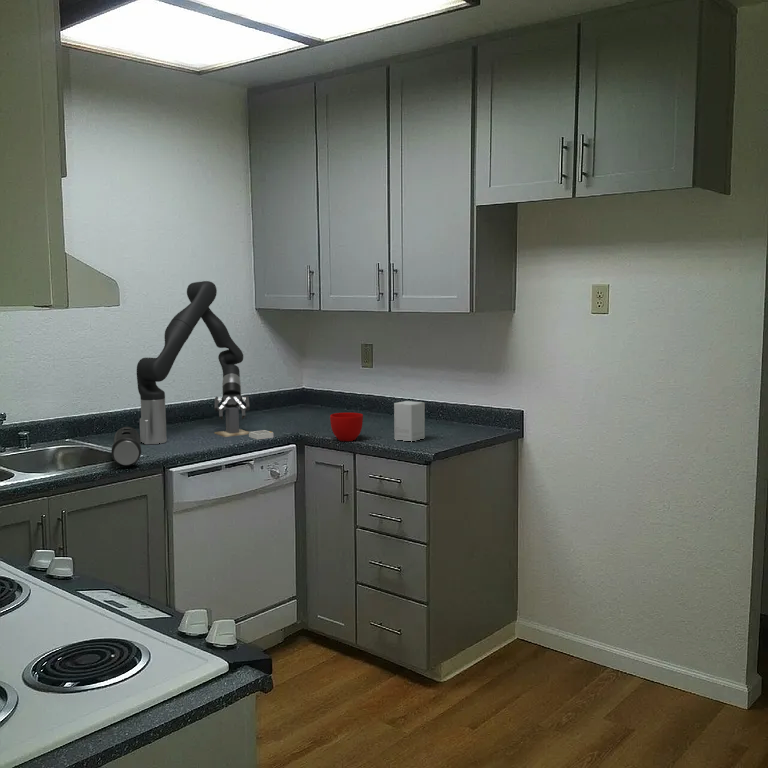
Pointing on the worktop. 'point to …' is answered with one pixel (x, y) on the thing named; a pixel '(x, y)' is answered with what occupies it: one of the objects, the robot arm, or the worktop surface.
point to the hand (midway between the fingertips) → (232, 418)
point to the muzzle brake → (126, 446)
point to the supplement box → (409, 421)
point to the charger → (232, 420)
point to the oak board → (225, 434)
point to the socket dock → (261, 434)
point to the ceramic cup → (346, 425)
